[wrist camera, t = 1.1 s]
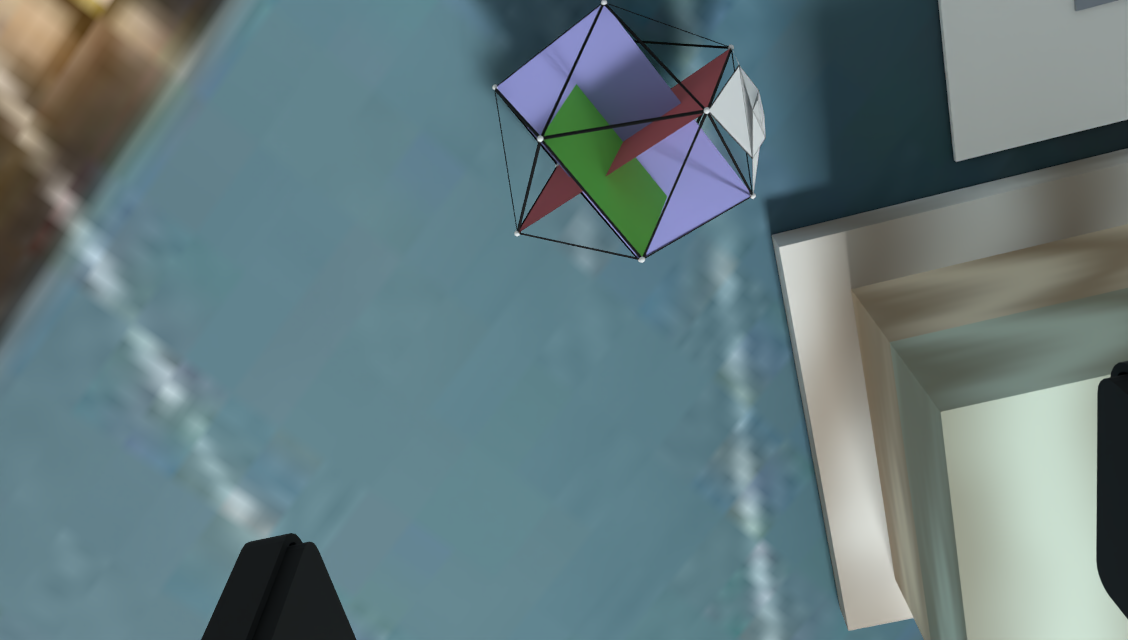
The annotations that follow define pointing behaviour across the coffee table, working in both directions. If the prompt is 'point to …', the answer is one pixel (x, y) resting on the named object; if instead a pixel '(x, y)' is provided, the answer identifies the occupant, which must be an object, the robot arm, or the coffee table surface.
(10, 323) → the coffee table surface
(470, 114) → the coffee table surface
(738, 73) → the geometric puzzle
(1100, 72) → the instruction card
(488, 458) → the coffee table surface
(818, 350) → the tower base
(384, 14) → the coffee table surface
